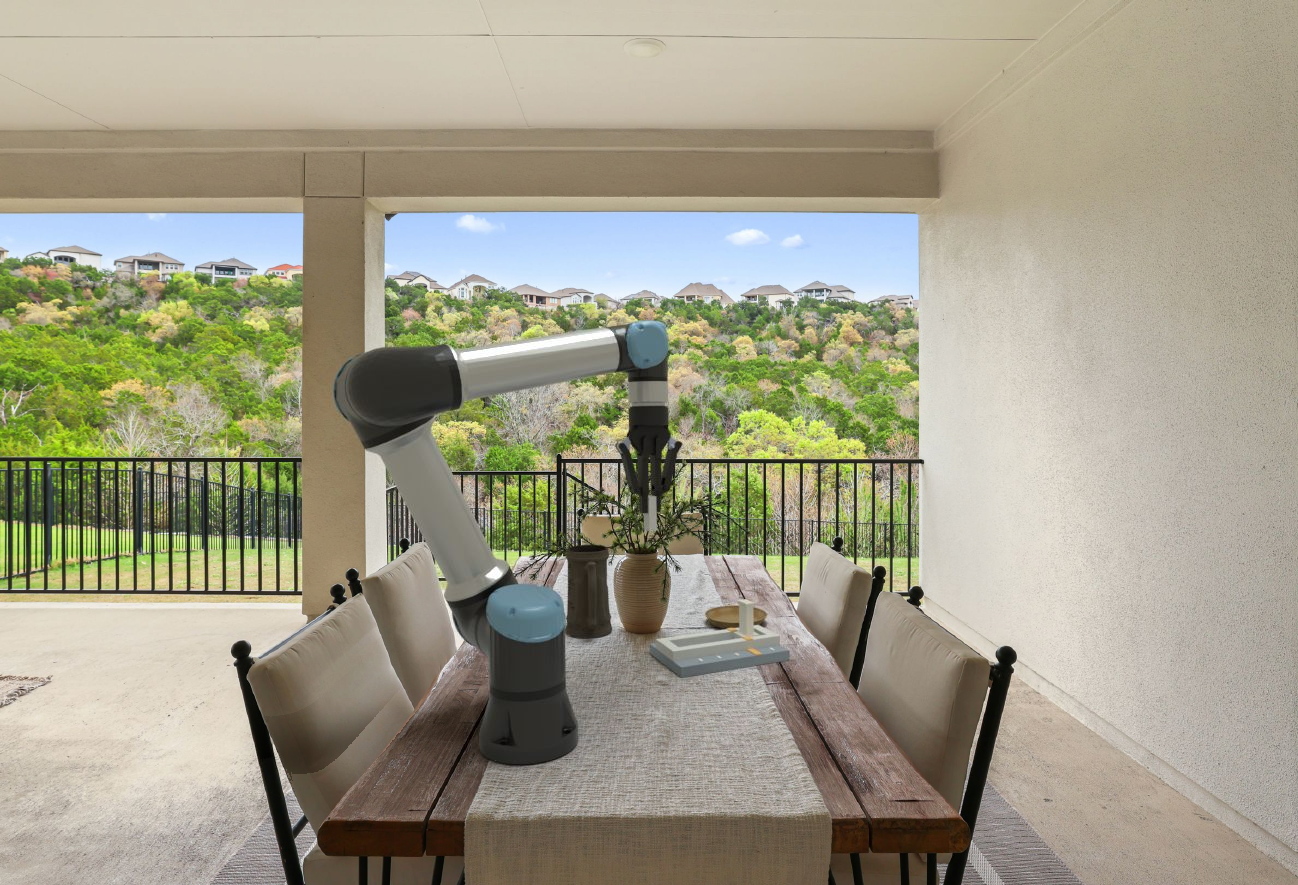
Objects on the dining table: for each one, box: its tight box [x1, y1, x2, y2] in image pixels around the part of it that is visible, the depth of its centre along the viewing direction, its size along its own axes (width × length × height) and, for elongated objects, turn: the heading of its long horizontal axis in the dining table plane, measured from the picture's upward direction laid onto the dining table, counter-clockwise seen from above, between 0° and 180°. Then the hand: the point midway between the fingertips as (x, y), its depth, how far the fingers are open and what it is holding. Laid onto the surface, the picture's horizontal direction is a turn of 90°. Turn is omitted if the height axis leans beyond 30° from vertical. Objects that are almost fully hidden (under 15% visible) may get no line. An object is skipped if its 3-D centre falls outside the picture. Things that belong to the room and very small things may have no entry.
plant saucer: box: [704, 605, 768, 630], centre depth 180 cm, size 15×15×3 cm
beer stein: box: [565, 544, 613, 639], centre depth 172 cm, size 15×11×20 cm
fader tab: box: [733, 598, 759, 639], centre depth 158 cm, size 4×4×8 cm
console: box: [649, 624, 791, 679], centre depth 156 cm, size 16×24×4 cm, turn 112°
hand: (650, 529), depth 143 cm, fingers closed
